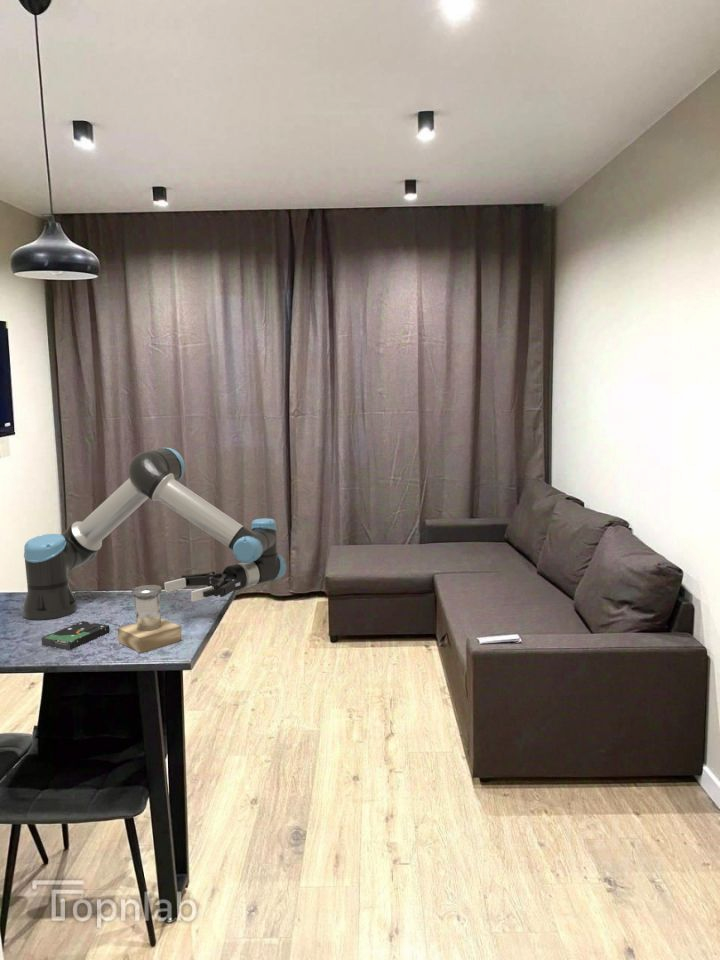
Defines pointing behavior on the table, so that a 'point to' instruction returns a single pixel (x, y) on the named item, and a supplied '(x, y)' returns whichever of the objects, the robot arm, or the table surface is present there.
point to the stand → (149, 636)
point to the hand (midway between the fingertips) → (178, 592)
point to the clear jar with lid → (147, 607)
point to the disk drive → (75, 635)
